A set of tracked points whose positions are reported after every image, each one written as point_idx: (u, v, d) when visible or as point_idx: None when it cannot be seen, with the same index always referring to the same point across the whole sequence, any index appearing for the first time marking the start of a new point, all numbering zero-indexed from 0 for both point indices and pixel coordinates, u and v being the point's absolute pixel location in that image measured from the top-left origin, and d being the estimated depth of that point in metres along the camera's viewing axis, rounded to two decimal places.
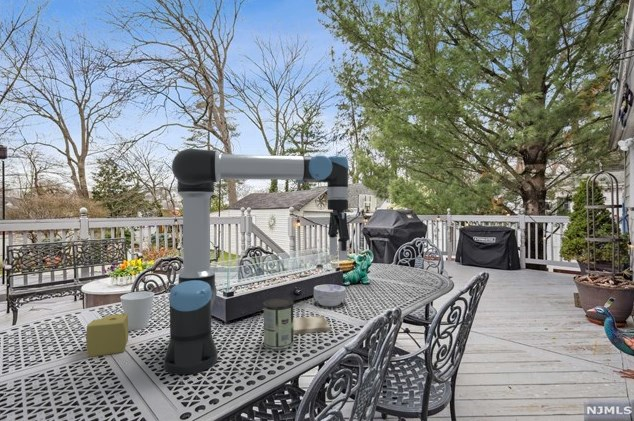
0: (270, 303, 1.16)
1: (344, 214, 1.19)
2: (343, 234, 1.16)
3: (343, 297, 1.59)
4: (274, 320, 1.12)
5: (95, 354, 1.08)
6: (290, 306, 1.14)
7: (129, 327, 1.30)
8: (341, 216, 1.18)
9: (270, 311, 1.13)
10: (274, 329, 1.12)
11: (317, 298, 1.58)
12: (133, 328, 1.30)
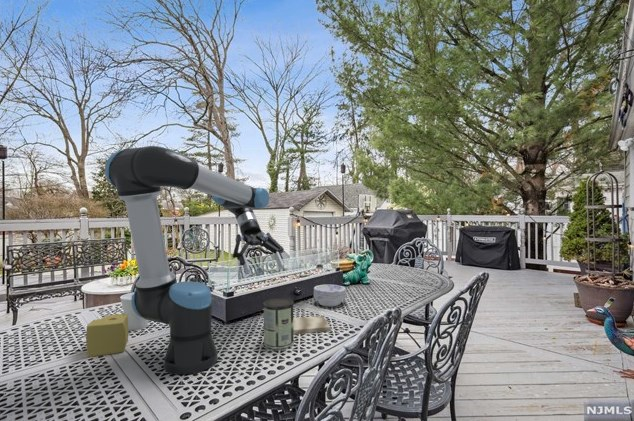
0: (270, 303, 1.16)
1: None
2: None
3: (343, 297, 1.59)
4: (274, 320, 1.12)
5: (95, 354, 1.08)
6: (290, 306, 1.14)
7: (129, 327, 1.30)
8: None
9: (270, 311, 1.13)
10: (274, 328, 1.12)
11: (317, 298, 1.58)
12: (133, 328, 1.30)
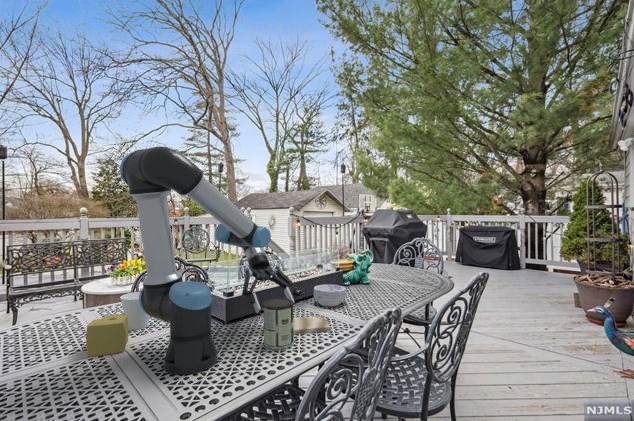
0: (270, 303, 1.16)
1: None
2: None
3: (343, 297, 1.59)
4: (274, 320, 1.12)
5: (95, 354, 1.08)
6: (290, 306, 1.14)
7: (129, 327, 1.30)
8: None
9: (270, 311, 1.13)
10: (274, 329, 1.12)
11: (317, 298, 1.58)
12: (133, 328, 1.30)
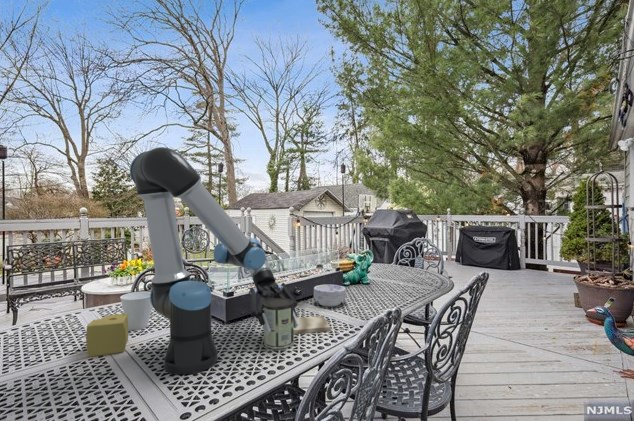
0: (270, 303, 1.16)
1: None
2: None
3: (343, 297, 1.59)
4: (274, 320, 1.12)
5: (95, 354, 1.08)
6: (290, 306, 1.14)
7: (129, 327, 1.30)
8: None
9: (270, 311, 1.13)
10: (274, 328, 1.12)
11: (317, 298, 1.58)
12: (133, 328, 1.30)
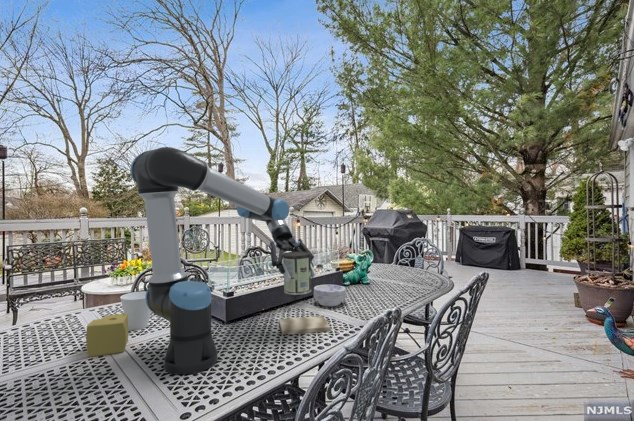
0: (289, 254, 1.26)
1: None
2: None
3: (343, 297, 1.59)
4: (294, 268, 1.22)
5: (95, 354, 1.08)
6: (308, 256, 1.24)
7: (129, 327, 1.30)
8: None
9: (290, 260, 1.22)
10: (293, 276, 1.22)
11: (317, 298, 1.58)
12: (133, 328, 1.30)
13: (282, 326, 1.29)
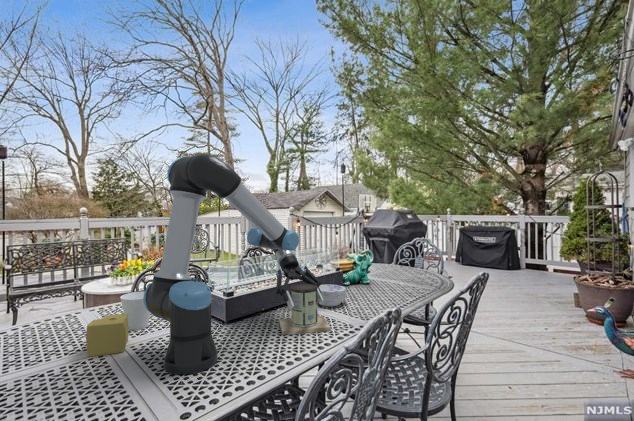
0: (297, 287, 1.32)
1: None
2: None
3: (343, 297, 1.59)
4: (302, 302, 1.28)
5: (95, 354, 1.08)
6: (315, 290, 1.30)
7: (129, 327, 1.30)
8: None
9: (298, 294, 1.28)
10: (301, 309, 1.28)
11: None
12: (133, 328, 1.30)
13: (282, 326, 1.29)
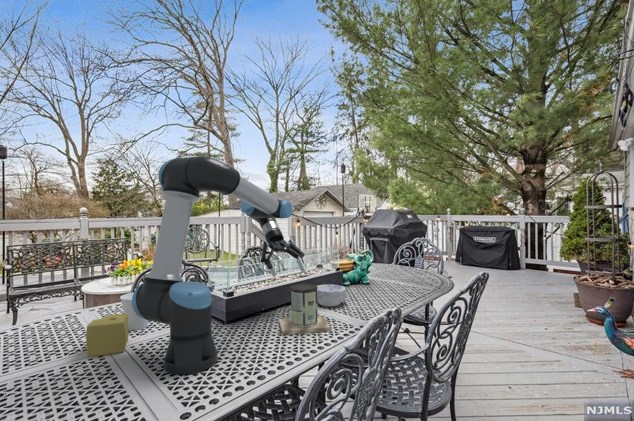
0: (297, 287, 1.32)
1: None
2: None
3: (343, 297, 1.59)
4: (302, 302, 1.28)
5: (95, 354, 1.08)
6: (315, 290, 1.30)
7: (129, 327, 1.30)
8: None
9: (298, 294, 1.28)
10: (301, 309, 1.28)
11: (317, 298, 1.58)
12: (133, 328, 1.30)
13: (282, 326, 1.29)
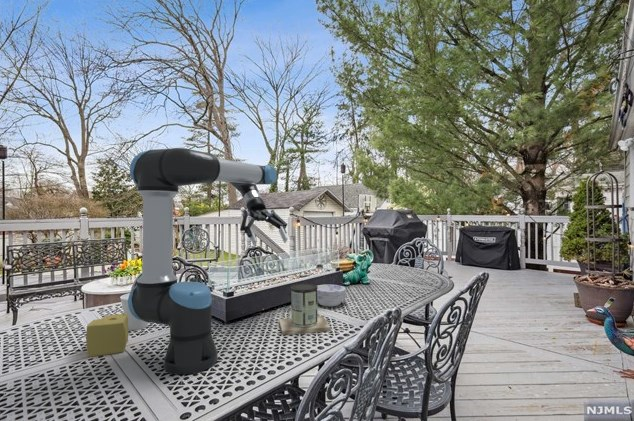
0: (297, 287, 1.32)
1: None
2: None
3: (343, 297, 1.59)
4: (302, 302, 1.28)
5: (95, 354, 1.08)
6: (315, 290, 1.30)
7: (129, 327, 1.30)
8: None
9: (298, 294, 1.28)
10: (301, 309, 1.28)
11: (317, 298, 1.58)
12: (133, 328, 1.30)
13: (282, 326, 1.29)
